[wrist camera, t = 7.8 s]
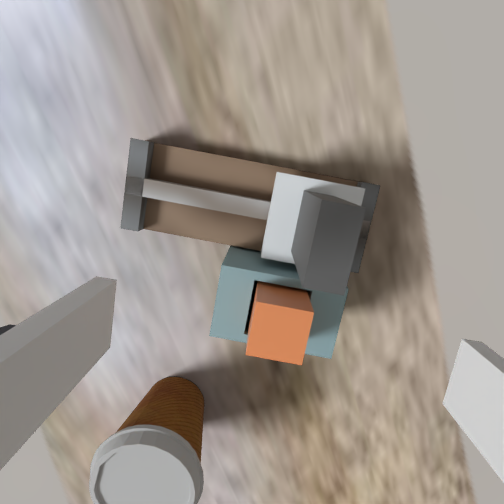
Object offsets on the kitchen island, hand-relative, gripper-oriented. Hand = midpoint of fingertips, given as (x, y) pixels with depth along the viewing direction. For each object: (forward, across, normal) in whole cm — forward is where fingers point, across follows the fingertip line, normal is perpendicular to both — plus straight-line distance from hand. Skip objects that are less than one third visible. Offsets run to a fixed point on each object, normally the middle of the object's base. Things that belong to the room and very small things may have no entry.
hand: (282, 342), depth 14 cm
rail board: (+24, -3, +3) cm, 25 cm away
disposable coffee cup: (+25, -7, -20) cm, 33 cm away
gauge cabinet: (+24, +1, -4) cm, 25 cm away
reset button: (+18, +1, -4) cm, 19 cm away
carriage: (+20, +3, +3) cm, 21 cm away
